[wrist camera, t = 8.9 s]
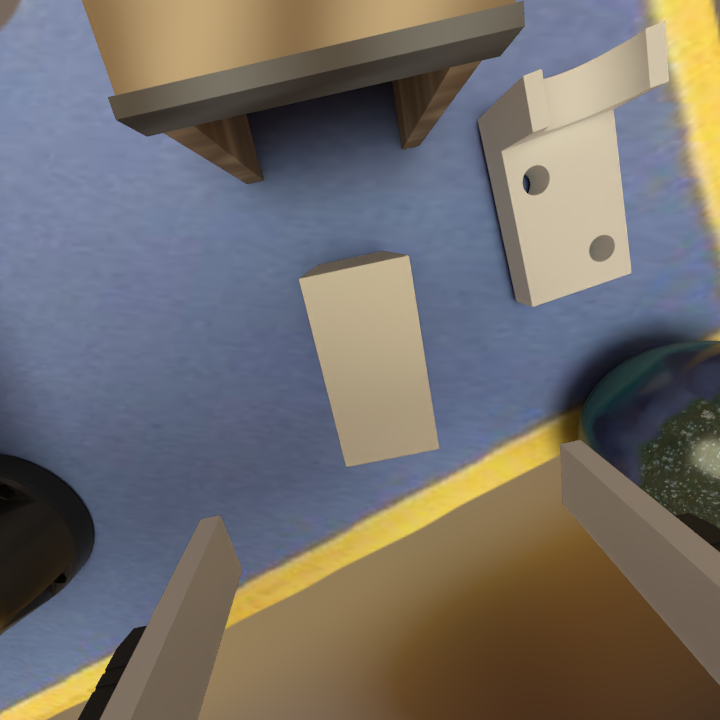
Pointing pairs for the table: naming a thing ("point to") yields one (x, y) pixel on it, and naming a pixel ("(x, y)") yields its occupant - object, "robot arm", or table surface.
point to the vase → (662, 425)
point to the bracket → (567, 169)
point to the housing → (287, 61)
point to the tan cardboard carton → (371, 355)
